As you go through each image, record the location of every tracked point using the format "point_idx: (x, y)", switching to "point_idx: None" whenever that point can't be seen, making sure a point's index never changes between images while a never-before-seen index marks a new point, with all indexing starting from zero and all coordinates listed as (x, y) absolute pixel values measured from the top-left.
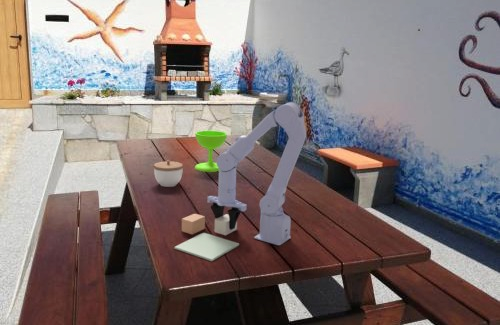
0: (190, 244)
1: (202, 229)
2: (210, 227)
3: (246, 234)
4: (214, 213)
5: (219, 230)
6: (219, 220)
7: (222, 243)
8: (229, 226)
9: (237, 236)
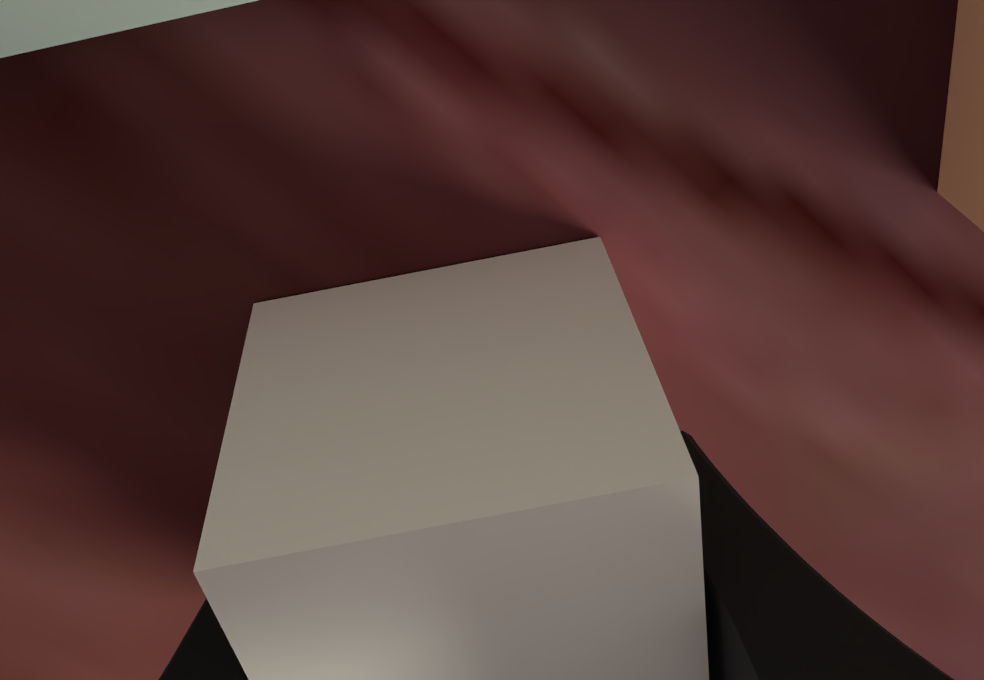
0: None
1: (950, 104)
2: (863, 334)
3: (54, 626)
4: (889, 677)
5: (445, 313)
6: (491, 526)
7: None
8: None
9: (48, 461)
